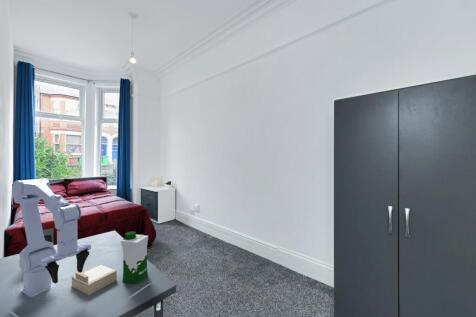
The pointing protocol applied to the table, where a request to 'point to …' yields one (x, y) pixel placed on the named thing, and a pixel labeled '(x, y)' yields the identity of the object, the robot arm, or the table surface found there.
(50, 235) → the tampon box
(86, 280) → the lid
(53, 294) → the table surface
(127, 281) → the milk carton
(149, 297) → the table surface
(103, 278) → the box
